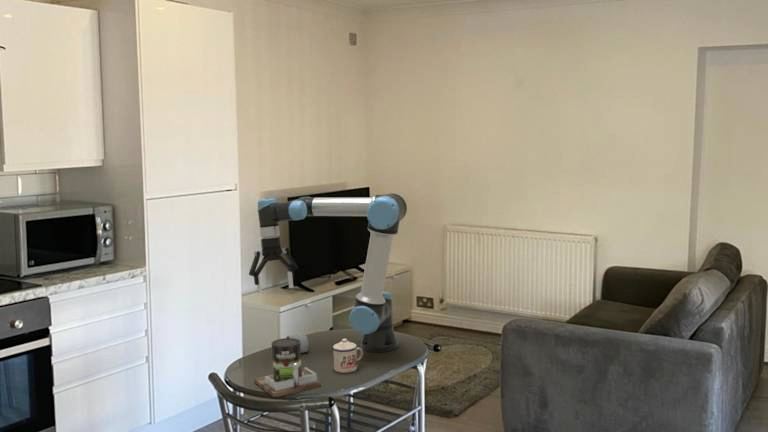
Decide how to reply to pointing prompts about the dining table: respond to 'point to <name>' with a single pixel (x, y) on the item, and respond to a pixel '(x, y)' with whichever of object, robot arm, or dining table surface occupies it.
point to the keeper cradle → (292, 380)
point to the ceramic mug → (302, 342)
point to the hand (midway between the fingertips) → (275, 290)
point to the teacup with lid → (346, 356)
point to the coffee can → (285, 358)
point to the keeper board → (261, 383)
